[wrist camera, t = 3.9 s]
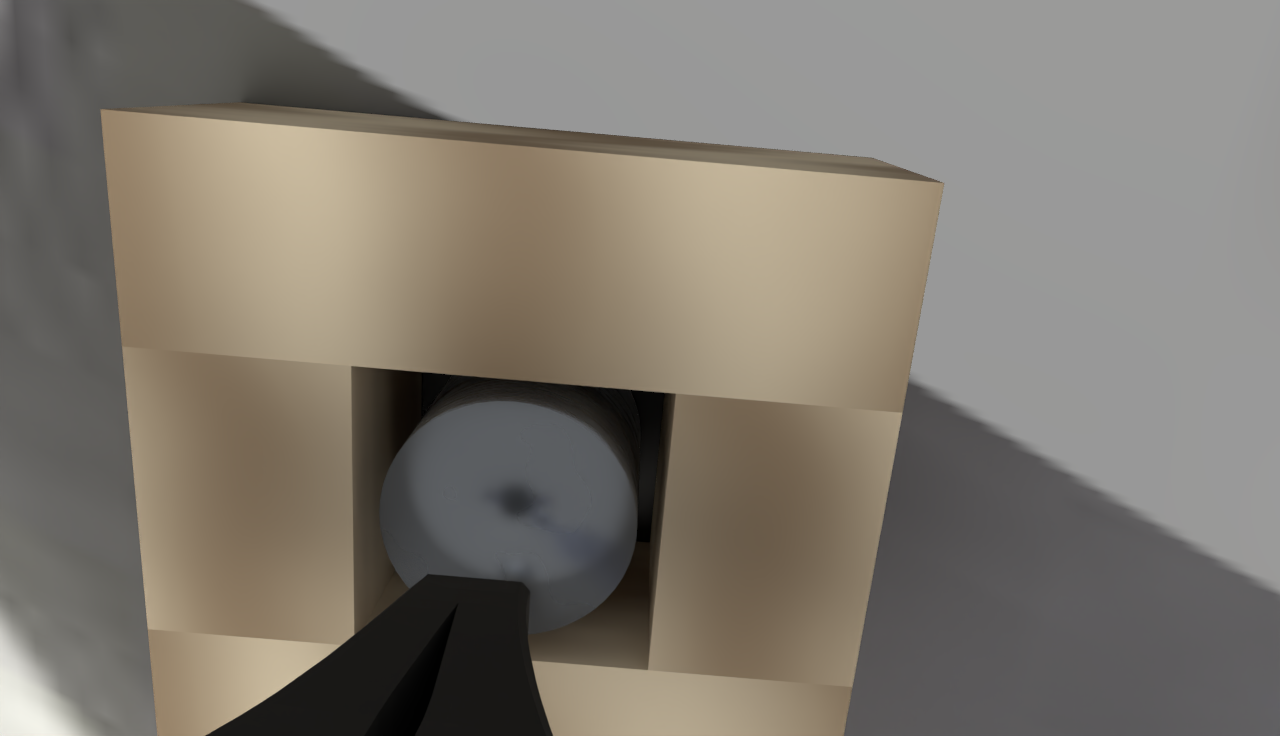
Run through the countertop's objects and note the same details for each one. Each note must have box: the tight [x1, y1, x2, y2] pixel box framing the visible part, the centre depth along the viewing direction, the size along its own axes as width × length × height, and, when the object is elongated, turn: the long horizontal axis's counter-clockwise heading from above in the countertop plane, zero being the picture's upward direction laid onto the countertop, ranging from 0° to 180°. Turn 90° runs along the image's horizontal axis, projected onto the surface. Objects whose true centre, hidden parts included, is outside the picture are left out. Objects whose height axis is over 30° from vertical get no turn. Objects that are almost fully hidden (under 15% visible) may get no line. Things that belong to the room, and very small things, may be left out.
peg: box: [379, 375, 641, 635], centre depth 17 cm, size 4×4×4 cm
